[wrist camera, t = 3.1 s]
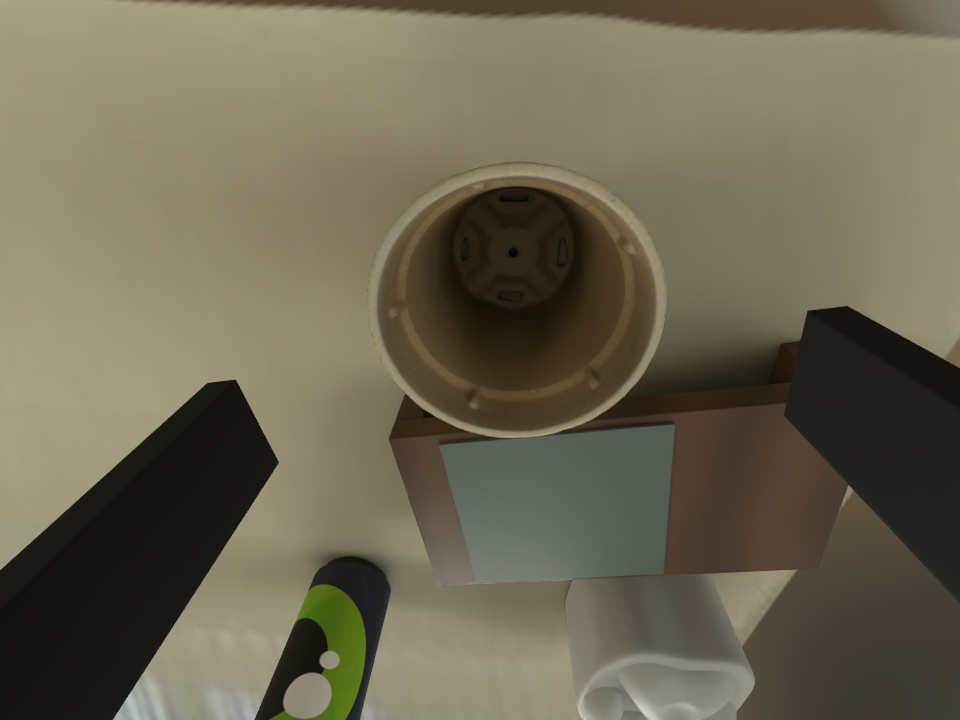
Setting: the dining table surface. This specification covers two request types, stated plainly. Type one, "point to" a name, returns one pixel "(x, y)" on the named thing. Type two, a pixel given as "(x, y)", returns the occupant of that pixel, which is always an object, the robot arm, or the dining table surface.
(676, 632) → the lumpy-topped squat cylinder
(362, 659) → the beverage can
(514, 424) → the flower pot
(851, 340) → the robot arm
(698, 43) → the dining table surface
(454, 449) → the teal-inset wooden board
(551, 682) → the dining table surface
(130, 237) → the dining table surface
